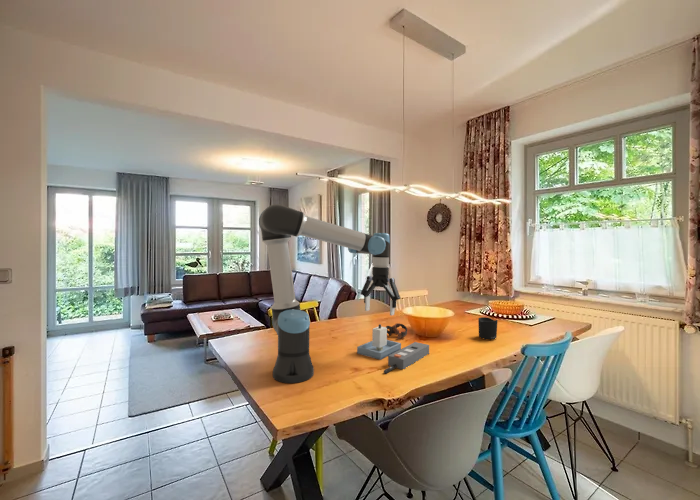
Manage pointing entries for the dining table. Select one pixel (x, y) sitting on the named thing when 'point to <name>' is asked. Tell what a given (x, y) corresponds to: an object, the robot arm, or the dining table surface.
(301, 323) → the robot arm
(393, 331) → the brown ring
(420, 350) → the power strip
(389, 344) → the tray
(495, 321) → the pen holder
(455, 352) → the dining table surface
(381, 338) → the charger
